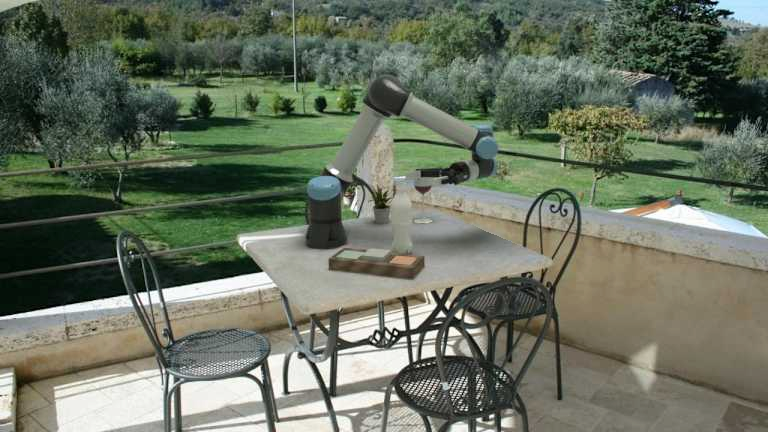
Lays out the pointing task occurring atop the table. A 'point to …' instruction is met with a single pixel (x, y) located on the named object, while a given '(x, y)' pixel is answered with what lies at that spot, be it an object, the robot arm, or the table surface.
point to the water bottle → (401, 220)
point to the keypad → (377, 265)
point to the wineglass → (423, 187)
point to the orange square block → (403, 260)
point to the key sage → (350, 254)
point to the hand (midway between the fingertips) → (419, 179)
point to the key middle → (376, 255)
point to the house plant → (381, 205)
